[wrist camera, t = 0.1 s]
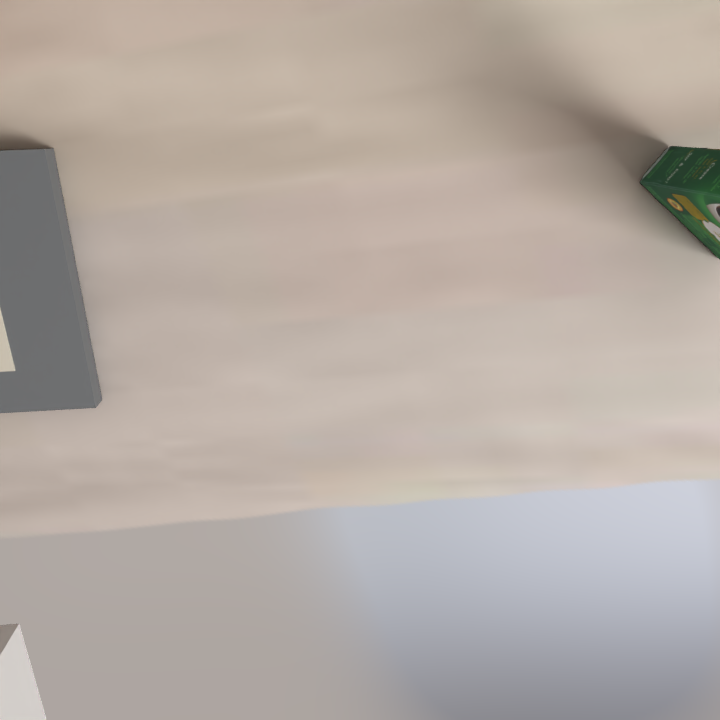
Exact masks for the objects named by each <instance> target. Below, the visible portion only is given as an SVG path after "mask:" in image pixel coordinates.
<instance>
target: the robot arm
mask: <svg viewBox="0 0 720 720" xmlns="http://www.w3.org/2000/svg"><path fill="white" fill-rule="evenodd" d="M0 720H47V719H46V716H45V712H44V709H43V705H42V702H41V698H40V695H39V691H38V688H37V684H36V681H35V677H34V674H33V670H32V667H31V664H30V660H29V656H28V653H27V649H26V646H25V642H24V639H23V636H22V632H21V628H20V625H19V624H7V625H0Z"/></svg>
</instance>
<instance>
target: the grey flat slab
mask: <svg viewBox="0 0 720 720" xmlns="http://www.w3.org/2000/svg"><path fill="white" fill-rule="evenodd" d="M101 401H102V396H101V391H100V386H99V381H98V376H97V371H96V365H95V360H94V355H93V350H92V345H91V340H90V334H89V329H88V324H87V319H86V314H85V309H84V303H83V298H82V293H81V288H80V283H79V278H78V272H77V267H76V262H75V257H74V252H73V247H72V242H71V236H70V231H69V226H68V221H67V216H66V211H65V205H64V200H63V195H62V190H61V185H60V180H59V174H58V169H57V164H56V159H55V154H54V149H26V150H0V413H11V412H29V411H47V410H65V409H82V408H96V407H97V406H98V404H99V403H100V402H101Z"/></svg>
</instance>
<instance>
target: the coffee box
mask: <svg viewBox="0 0 720 720" xmlns="http://www.w3.org/2000/svg"><path fill="white" fill-rule="evenodd" d="M640 183H641V184H642V185H643V186H644V187H645V188H646V189H647V190H648V191H649V192H650V193H651V194H652V195H653V196H654V197H655V198H656V199H657V200H658V201H659V202H660V203H661V204H662V205H664V206H665V207H666V208H667V209H668V210H669V211H670V212H671V213H673V214H674V215H675V216H676V217H677V218H678V219H679V220H680V221H681V222H682V223H683V224H684V225H685V226H686V227H687V228H688V229H689V230H690V231H691V232H692V233H693V234H694V235H695V236H696V237H697V238H698V239H699V240H700V241H701V242H702V243H703V244H704V245H705V246H706V247H708V248H709V249H710V250H711V251H712V252H713V253H714V254H715V255H716V256H717V257H718V258H719V259H720V149H708V148H691V147H677V146H671V147H669V148H667V149H666V151H665V152H664V153H663V154H662V155H661V156H660V157H659V158H658V159H657V161H656V162H655V163H654V164H653V165H652V166H651V167H650V169H648V171H647V172H646V173H645V174H644V175H643V178H642V180H641V181H640Z"/></svg>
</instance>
